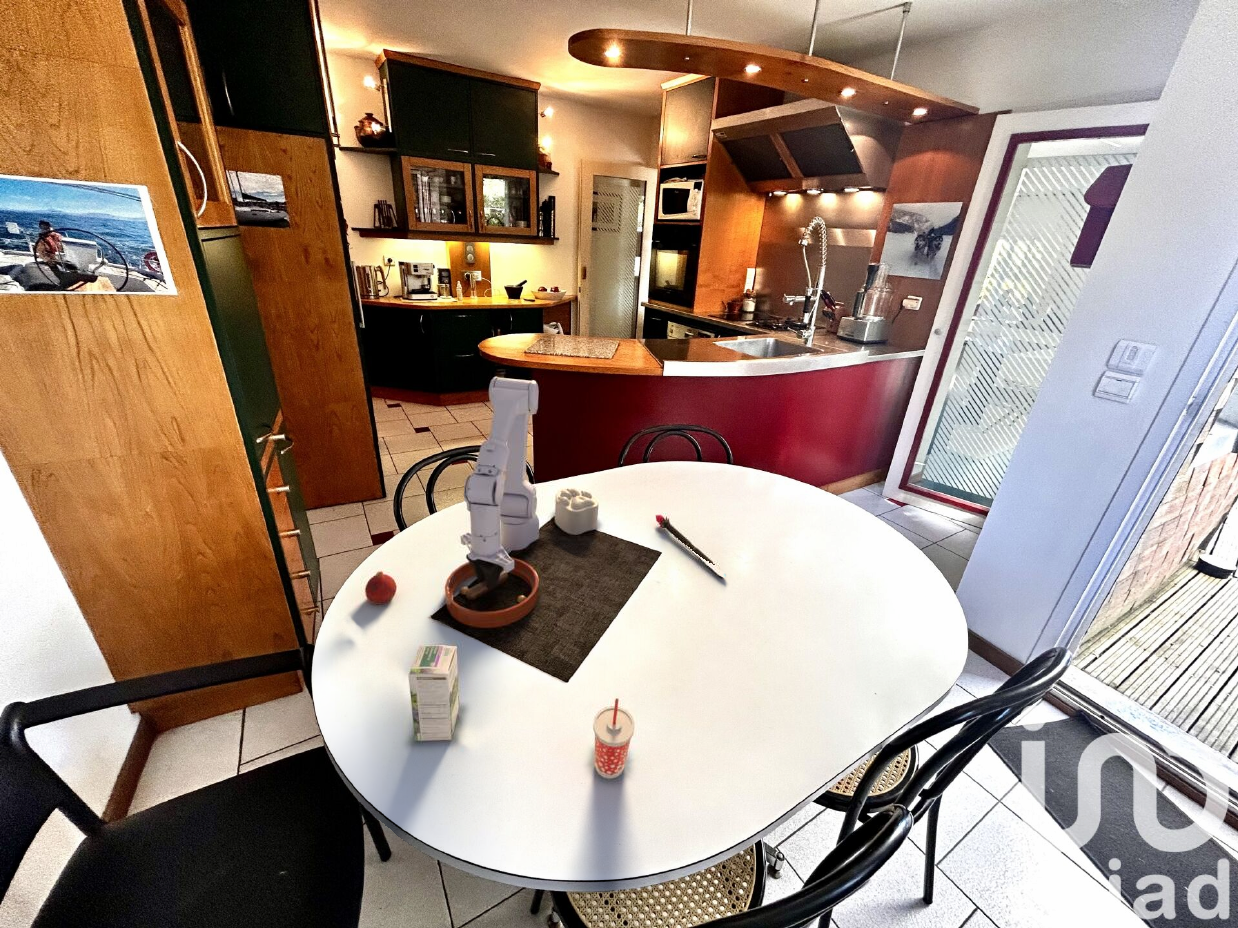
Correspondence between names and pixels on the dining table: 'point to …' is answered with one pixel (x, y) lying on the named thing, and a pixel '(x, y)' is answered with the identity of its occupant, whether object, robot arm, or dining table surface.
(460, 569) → the bowl
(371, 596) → the red round piece
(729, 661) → the dining table surface
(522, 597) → the bead
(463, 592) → the bead
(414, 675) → the syrup box
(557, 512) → the lumpy-topped squat cylinder
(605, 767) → the beverage cup
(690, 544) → the wand
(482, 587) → the stick
